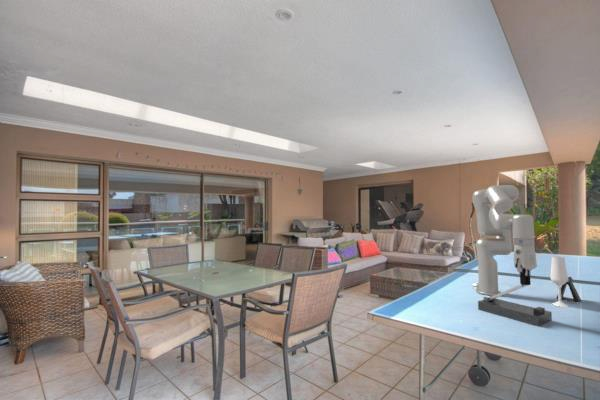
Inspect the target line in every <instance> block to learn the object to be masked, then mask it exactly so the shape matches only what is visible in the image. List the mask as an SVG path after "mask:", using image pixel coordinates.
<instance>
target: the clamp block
mask: <svg viewBox="0 0 600 400" xmlns="http://www.w3.org/2000/svg"><path fill="white" fill-rule="evenodd" d="M489 296H490V297H492V296H493V295H489ZM488 298H489V297H487V296H484V297H483V299H481V300H478V301H477V309H478V311H483V312H485V313H490V314H493V315H497V316H500V317H504V318H506V319H511V320H514V321H518V322H521V323H525V324H527V325H532V326H535V327H537V328H538V327H540V326H543V325H547V324H548V322H549V323H551V322H553V317H552V311H550V310H546V309H545V307H541V306H538V307H533V306H528V305H524V304H521V303H520V304H519V303H516V302H512V301H507V300H503V299H500V298H495V299H492V300H488ZM550 321H551V322H550Z"/></svg>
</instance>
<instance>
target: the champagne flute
mask: <svg viewBox="0 0 600 400" xmlns="http://www.w3.org/2000/svg"><path fill="white" fill-rule="evenodd" d="M567 276H568V271H567V265H566V260H565V256H564V257H563V256H556V255H555V256H554V255H553V256H551V265H550V275H549V277H550V280H551V282H552V283H554V284H555V285H556V286H557V295H558V299H557V300H558V301H555V302H553V303H551V305H552V304H553V305H552V306H554V305H555V306H556V307H559V306H560V307H561V308H569V307H568V306H569V305H568V304H566V303H564V302H563V301H562V300H561V287H562V285H564V284H565V283H566V282H567V281H569V279H568V277H567Z"/></svg>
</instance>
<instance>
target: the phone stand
mask: <svg viewBox="0 0 600 400" xmlns="http://www.w3.org/2000/svg"><path fill="white" fill-rule="evenodd" d="M567 277H568V275H567ZM567 287H568V288H569V290H570V293H571V296H572V297H565V296H564V294H565V292H566V288H567ZM555 298H556V299H557V300H558V294H557V295H556V297H555ZM566 300H567V302H572V301H573V303H577V302H579V303H580V302H581V301H582V299H581V297H580V294H579V293H578V291H577V289H576V287H575V285H574V282H573V278H572V276H569V277H568V281H567V282H566V283H565V284H564V285H562V286H561V301H566Z"/></svg>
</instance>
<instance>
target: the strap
mask: <svg viewBox="0 0 600 400" xmlns="http://www.w3.org/2000/svg"><path fill="white" fill-rule="evenodd" d="M525 287H528V285H523V284H520V285H517V286H514V287H511V288H509V289H507V290H504V291H501V293H499V294H497V295H494V296H492V297H487V298H488V300H492V299H498V298H500V297H503V296H504V295H507V294H510V293H513V292H515V291H518V290H520V289H523V288H525Z"/></svg>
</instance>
